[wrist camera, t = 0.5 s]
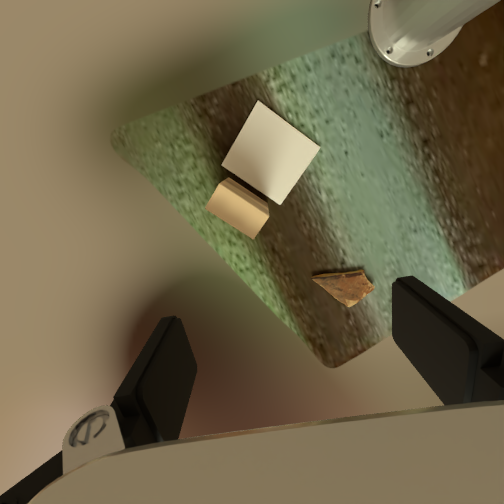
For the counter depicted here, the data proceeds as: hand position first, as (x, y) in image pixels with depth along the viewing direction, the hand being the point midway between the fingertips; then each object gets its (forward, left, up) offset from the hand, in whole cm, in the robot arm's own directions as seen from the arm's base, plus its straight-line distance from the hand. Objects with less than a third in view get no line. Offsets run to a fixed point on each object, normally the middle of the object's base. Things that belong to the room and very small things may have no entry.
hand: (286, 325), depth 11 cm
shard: (+7, +22, -35) cm, 42 cm away
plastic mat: (-6, -4, -34) cm, 35 cm away
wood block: (+3, -4, -34) cm, 34 cm away
